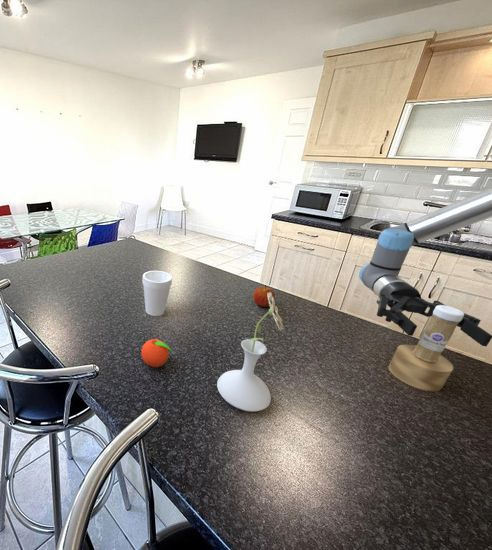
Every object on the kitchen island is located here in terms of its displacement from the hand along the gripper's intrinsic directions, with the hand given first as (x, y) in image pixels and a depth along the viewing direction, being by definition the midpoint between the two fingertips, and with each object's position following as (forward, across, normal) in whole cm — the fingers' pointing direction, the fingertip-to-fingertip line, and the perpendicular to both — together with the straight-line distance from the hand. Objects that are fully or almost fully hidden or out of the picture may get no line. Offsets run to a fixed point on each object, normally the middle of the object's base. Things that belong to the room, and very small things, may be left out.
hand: (449, 335), depth 65 cm
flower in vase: (+15, +42, -14) cm, 47 cm away
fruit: (-30, +32, -14) cm, 46 cm away
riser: (-3, 0, -14) cm, 15 cm away
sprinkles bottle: (-3, 0, -8) cm, 9 cm away
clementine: (+11, +63, -14) cm, 66 cm away
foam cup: (-15, +68, -14) cm, 71 cm away
